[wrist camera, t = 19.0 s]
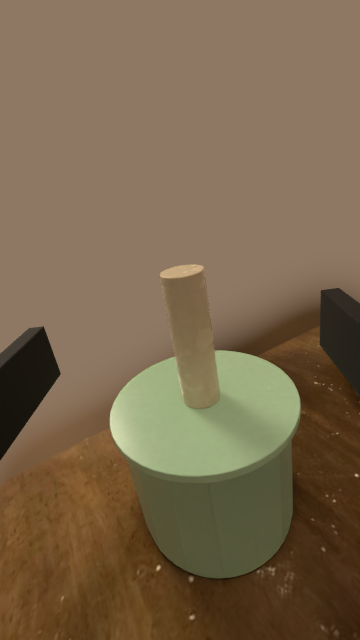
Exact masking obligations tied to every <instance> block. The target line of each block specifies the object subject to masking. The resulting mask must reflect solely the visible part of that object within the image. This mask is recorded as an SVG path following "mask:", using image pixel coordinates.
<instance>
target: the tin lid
mask: <svg viewBox="0 0 360 640" xmlns="http://www.w3.org/2000/svg"><path fill="white" fill-rule="evenodd" d="M160 279H161V285H162V290H163V295H164V301H165V306H166V311H167V317H168V322H169V328H170V333H171V338H172V344H173V349H174V354H175V357H173V358H170V359H167V360H164V361H162V362H159V363H157V364H155V365H153V366H151V367H149V368H147V369H146V370H144V371H142V372H141V373H140V374H138V375H137V376H135V377H134V378H133V379H132V380H131V381H130V382H129V383H127V385H126V386H125V387H124V388H123V389H122V390H121V392H120V393H119V395H118V396H117V398H116V399H115V401H114V404H113V406H112V409H111V413H110V430H111V434H112V437H113V441H114V443H115V445H116V447H117V449H118V451H119V452H120V453H121V455H122V456H123V457H124V458H125V459H126V460H127V461H128V462H129V463H130V464H132V465H133V466H134V467H136V468H137V469H139V470H141V471H142V472H144V473H146V474H149V475H151V476H153V477H156V478H159V479H163V480H167V481H171V482H178V483H190V484H203V483H213V482H220V481H224V480H229V479H233V478H236V477H239V476H242V475H245V474H248V473H250V472H252V471H254V470H256V469H258V468H260V467H262V466H264V465H265V464H267V463H268V462H270V461H271V460H273V459H274V458H275V457H276V456H278V455H279V454H280V453H281V452H282V451H283V450H284V449H285V448H286V446H287V445H288V444H289V443H290V442H291V440H292V438H293V437H294V435H295V433H296V431H297V428H298V425H299V422H300V415H301V405H300V397H299V394H298V391H297V389H296V387H295V385H294V383H293V382H292V380H291V379H290V378H289V377H288V375H286V374H285V373H284V372H283V371H282V370H281V369H279V368H278V367H277V366H275V365H273V364H272V363H270V362H268V361H266V360H263V359H261V358H259V357H256V356H252V355H249V354H244V353H239V352H233V351H215V350H214V342H213V334H212V327H211V319H210V312H209V303H208V295H207V287H206V279H205V272H204V268H203V266H200V265H182V266H176V267H172V268H169V269H167V270H165V271H163V272H161V273H160Z"/></svg>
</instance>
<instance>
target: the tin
mask: <svg viewBox="0 0 360 640" xmlns="http://www.w3.org/2000/svg"><path fill="white" fill-rule="evenodd" d="M128 465H129V468H130V471H131V475H132V478H133V481H134V485H135V488H136V491H137V495H138V498H139V501H140V505H141V508H142V511H143V515H144V518H145V522H146V525H147V527H148V529H149V531H150V533H151V535H152V537H153V539H154V542H155V543H156V545H157V546H158V548H159V549H160V551H161V552H162V553H163V554H164V555H165V556H166V557H167V558H168V559H169V560H170V561H171V562H173V563H174V564H175V565H176V566H178V567H180V568H182V569H183V570H185V571H187V572H190V573H192V574H195V575H198V576H203V577H207V578H231V577H236V576H240V575H243V574H246V573H248V572H251V571H253V570H255V569H257V568H258V567H260V566H262V565H263V564H264V563H266V562H267V561H268V560H269V559H270V558H272V556H273V555H274V554H275V553H276V552H277V551H278V550H279V548H280V547H281V545H282V544H283V542H284V540H285V538H286V536H287V534H288V531H289V527H290V524H291V518H292V515H293V489H292V442H290V443H289V444H288V445H287V446H286V448H285V449H284V450H283V451H282V452H281V453H280V454H279V455H278V456H276V457H275V458H274V459H273V460H271V461H270V462H268V463H267V464H265V465H264V466H262V467H260V468H258V469H256V470H254V471H252V472H250V473H248V474H245V475H242V476H239V477H236V478H233V479H229V480H224V481H220V482H213V483H203V484H190V483H178V482H171V481H167V480H163V479H159V478H156V477H153V476H151V475H149V474H146V473H144V472H142V471H141V470H139V469H137V468H136V467H134V466H133V465H132V464H130V463H129V462H128Z"/></svg>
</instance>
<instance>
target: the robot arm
mask: <svg viewBox="0 0 360 640" xmlns="http://www.w3.org/2000/svg"><path fill="white" fill-rule="evenodd" d="M320 313H321V314H320V345H321V347H322V348H323V349H324V351H325V352H326V353H327V355H328V356H329V357H330V358H331V360H332V361H333V362H334V364H335V365H336V366H337V368H338V369H339V370H340V371H341V373H342V374H343V375H344V377H345V378H346V379H347V381H348V382H349V383H350V385H351V386H352V387H353V388H354V390H355V391H356V392H357V394H358V395H359V396H360V303H358V302H357V301H355V300H354V299H353V298H351V297H350V296H349V295H348V294H346V293H345V292H343V291H342V290H341V289H339V288H335V289H328V290H321V312H320ZM60 374H61V373H60V371H59V368H58V365H57V362H56V359H55V357H54V354H53V351H52V348H51V345H50V343H49V340H48V337H47V334H46V332H45V329H44V327H36V328H29V329H28V330H26V331H25V332H24V333H23V334H22V335H21V336H20V337H19V338H17V339H16V340H15V341H14V342H13V343H12V344H11V345H10V346H8V347H7V348H6V349H5V350H4V351H3V352H2V353H0V460H1V459H2V457H3V456H4V454H5V453H6V452H7V450H8V449H9V447H10V446H11V444H12V443H13V442H14V440H15V439H16V437H17V436H18V434H19V433H20V431H21V430H22V429H23V427H24V426H25V424H26V423H27V421H28V420H29V418H30V417H31V416H32V414H33V412H34V411H35V410H36V409H37V407H38V406H39V404H40V403H41V401H42V400H43V398H44V397H45V396H46V394H47V393H48V391H49V390H50V389H51V387H52V386H53V384H54V383H55V381H56V380H57V378H58V377H59V376H60Z"/></svg>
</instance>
